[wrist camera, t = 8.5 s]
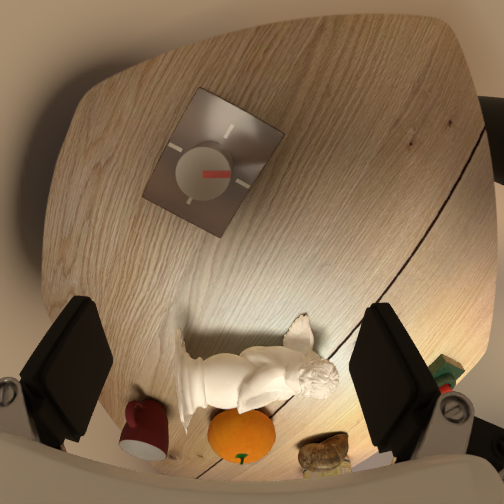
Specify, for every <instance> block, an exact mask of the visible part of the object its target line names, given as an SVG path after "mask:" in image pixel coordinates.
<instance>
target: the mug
mask: <svg viewBox="0 0 504 504" xmlns="http://www.w3.org/2000/svg"><path fill="white" fill-rule="evenodd" d="M135 406H136V407H135ZM125 416H126V421H127V422H126V424H125V426H124V428H123V430H122V433H121V436H120V441H119V446H120V447H121V449H122V450H124V451H125V452H126V453H128V454H130V455H132V456H134V457H137V458H140V459H143V460H148V461H162V460H164V459H166V457H167V452H168V446H169V436H168V419H167V415H166V413H165V410H164V408H163V406H162V405H161V404H160V403H159V402H157V401H154V400H144V401H142V402H141V403H140V402H139V401H135V400H133V401H130V402H129V403H128V404H127V406H126V410H125Z"/></svg>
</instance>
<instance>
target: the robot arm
mask: <svg viewBox="0 0 504 504" xmlns="http://www.w3.org/2000/svg"><path fill="white" fill-rule="evenodd" d="M112 364H113V356H112V353H111V350H110V347H109V345H108V342H107V339H106V336H105V333H104V330H103V327H102V324H101V320H100V317H99V314H98V311H97V307H96V304H95V302H94V301H92V300H91V298H90V297H87V296H74V297H72V299H71V300H70V301H69V303H68V304H67V305H66V307H65V308H64V309H63V311H62V312H61V313H60V315H59V316H58V318H57V319H56V320H55V322H54V323H53V324H52V326H51V327H50V329H49V330H48V331H47V333H46V334H45V336H44V337H43V339H42V340H41V342H40V343H39V345H38V346H37V348H36V349H35V351H34V352H33V354H32V355H31V357H30V358H29V360H28V361H27V363H26V364H25V366H24V368H23V369H22V371H21V372H20V374H19V375H20V377H21V380H20V381H18V380H17V379H15V378H12V377H4V378H1V379H0V504H504V429H503V428H500V427H498V426H496V425H494V424H491V423H489V422H487V421H484V420H482V419H480V418H477V417H475V416H474V407H473V404H472V403H471V401H470V400H469V399H468V398H467V397H466V396H465V395H463V394H461V393H459V392H455V391H448V392H445V393H443V394H441V392H440V390H439V387H438V385H437V383H436V381H435V379H434V378H433V376H432V374H431V372H430V370H429V369H428V367H427V365H426V363H425V361H424V360H423V358H422V356H421V354H420V353H419V351H418V349H417V348H416V346H415V344H414V343H413V341H412V339H411V338H410V336H409V334H408V333H407V331H406V329H405V328H404V326H403V324H402V323H401V321H400V320H399V318H398V316H397V315H396V313H395V312H394V310H393V308H392V307H391V305H390V304H389V303H387V302H386V303H373V304H371V306H370V307H368V308H367V309H366V311H365V314H364V318H363V321H362V324H361V328H360V331H359V334H358V337H357V340H356V344H355V347H354V350H353V353H352V356H351V359H350V362H349V371H350V374H351V377H352V380H353V383H354V387H355V390H356V393H357V396H358V399H359V402H360V405H361V408H362V411H363V415H364V418H365V421H366V424H367V428H368V431H369V434H370V437H371V441H372V444H373V445H374V446H377V447H378V450H379V453H383V452H387V451H392V453H393V456H394V459H393V461H392V462H391V464H390V465H388V466H384V467H379V468H375V469H369V470H364V471H358V472H352V473H346V474H340V475H334V476H326V477H318V478H309V479H298V480H283V481H215V480H201V479H190V478H181V477H173V476H165V475H159V474H153V473H147V472H141V471H136V470H131V469H126V468H121V467H117V466H113V465H109V464H105V463H101V462H97V461H93V460H90V459H87V458H83V457H80V456H77V455H73V454H70V453H67V452H66V449H65V447H64V444H63V443H64V440H65V438H66V439H68V440H71V441H74V442H79V440H80V437H81V436H84V434H85V432H86V430H87V427H88V424H89V422H90V419H91V416H92V413H93V411H94V408H95V406H96V403H97V401H98V398H99V396H100V393H101V391H102V388H103V386H104V383H105V381H106V379H107V376H108V374H109V371H110V369H111V367H112Z"/></svg>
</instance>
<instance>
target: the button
mask: <svg viewBox="0 0 504 504" xmlns="http://www.w3.org/2000/svg"><path fill="white" fill-rule="evenodd" d="M439 390H440V392H441V394H443V393H445V392H448V391H452V389H451V387H450V386H449V384H445V385H443V386H441V387H439Z"/></svg>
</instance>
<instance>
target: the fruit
mask: <svg viewBox="0 0 504 504" xmlns="http://www.w3.org/2000/svg"><path fill="white" fill-rule="evenodd" d="M275 439H276V434H275V428H274V425H273V422H272V421H271V420H270V419H269V418H268V417H267V416H266V415H265V414H263V413H261V412H259V411H257V410H253V409H252V410H250V411H246V412H244V413H241V414H239V412H238V409H237V408H234V409H229V410H225V411H223V412H221V413H219V414H218V415H216V416H215V417H214V419H213V420H212V421H211V422H210V425H209V429H208V441H209V443H210V445H211V447H212V449H213V450H214V451H215V453H216V454H218V455H219V456H220V457H222V458H223V459H225V460H227V461H229V462H234V463H240V464H241V465H242V464H243V463H250V462H255V461H257V460H259V459H261V458H262V457H264V456H265V455H266V454H267V453H268V452H269V451H270V450H271V448H272V446H273V444H274V442H275Z"/></svg>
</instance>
